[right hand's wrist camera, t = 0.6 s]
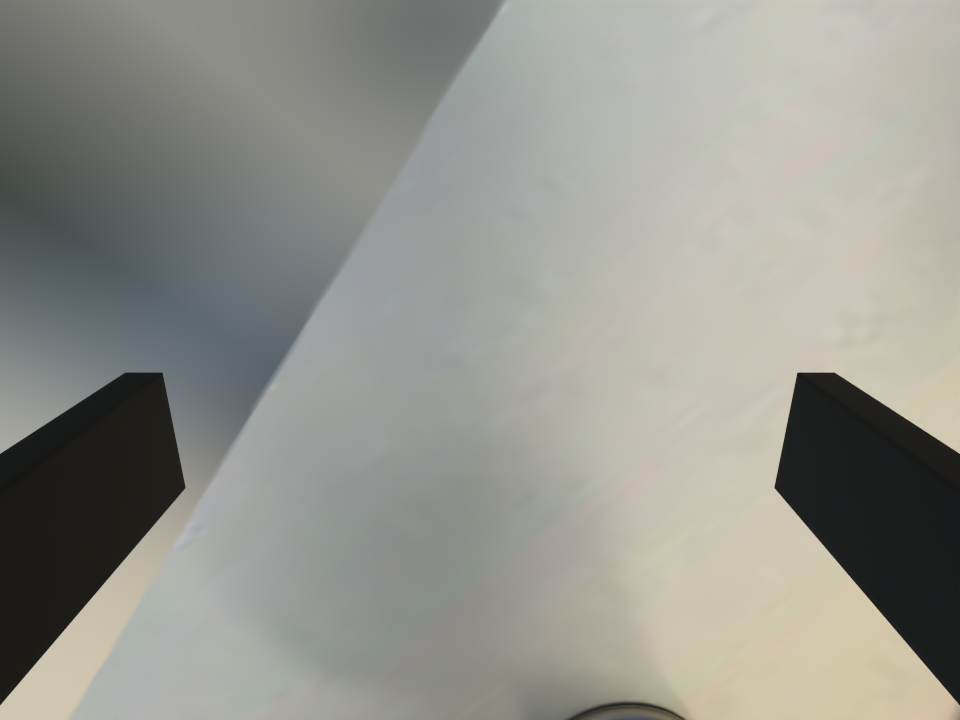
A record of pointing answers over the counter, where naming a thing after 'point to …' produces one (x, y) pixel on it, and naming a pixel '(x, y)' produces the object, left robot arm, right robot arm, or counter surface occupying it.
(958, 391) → the counter surface
